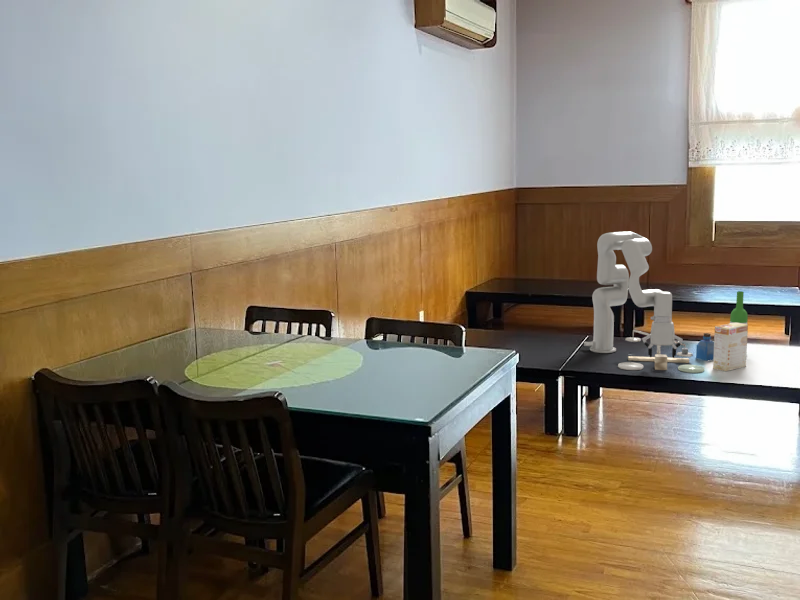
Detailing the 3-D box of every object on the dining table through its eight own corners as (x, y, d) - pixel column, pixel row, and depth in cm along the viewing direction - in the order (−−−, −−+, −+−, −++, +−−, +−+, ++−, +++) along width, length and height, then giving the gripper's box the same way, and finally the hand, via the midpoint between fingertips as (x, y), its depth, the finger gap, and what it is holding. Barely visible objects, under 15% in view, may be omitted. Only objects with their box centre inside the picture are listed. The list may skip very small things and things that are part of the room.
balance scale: (625, 361, 375) (625, 330, 372) (624, 357, 381) (625, 327, 379) (693, 363, 368) (694, 332, 365) (691, 360, 374) (692, 329, 372)
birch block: (655, 369, 358) (655, 356, 357) (654, 367, 363) (654, 354, 362) (666, 370, 357) (667, 357, 356) (666, 367, 362) (666, 354, 361)
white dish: (618, 369, 359) (618, 367, 359) (617, 363, 370) (617, 361, 370) (643, 370, 357) (644, 368, 356) (642, 364, 367) (642, 362, 367)
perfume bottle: (705, 356, 381) (706, 332, 379) (715, 359, 375) (717, 334, 374) (696, 358, 378) (697, 333, 376) (706, 360, 373) (707, 335, 371)
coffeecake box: (732, 363, 367) (734, 322, 363) (746, 366, 361) (749, 324, 358) (711, 368, 359) (714, 325, 356) (725, 371, 353) (728, 328, 350)
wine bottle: (742, 351, 391) (746, 290, 386) (748, 354, 383) (751, 292, 378) (726, 351, 392) (729, 290, 387) (731, 354, 384) (734, 292, 379)
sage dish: (679, 372, 353) (679, 370, 353) (677, 366, 364) (677, 364, 363) (705, 373, 350) (705, 371, 350) (702, 367, 361) (702, 365, 361)
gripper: (642, 320, 355) (642, 358, 357) (684, 321, 351) (683, 359, 353) (642, 317, 362) (641, 354, 364) (682, 318, 358) (681, 355, 360)
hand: (661, 357), depth 359 cm, fingers open, 9 cm apart
